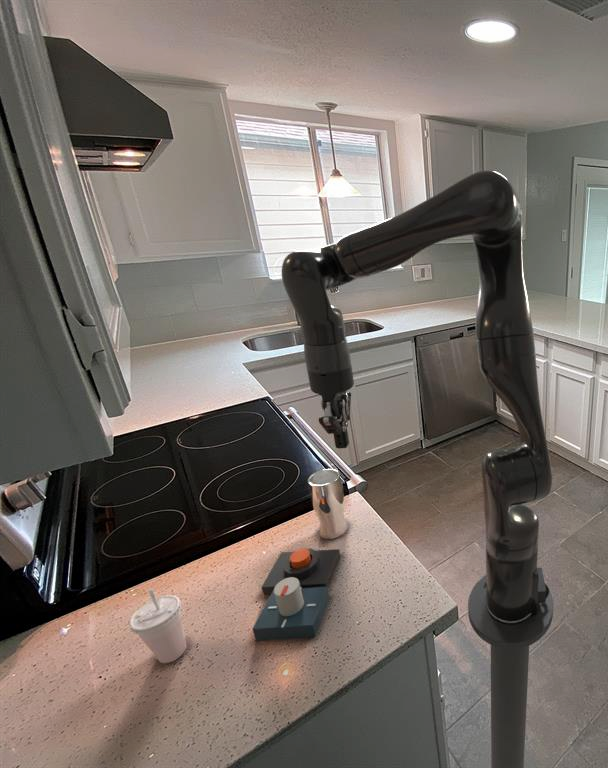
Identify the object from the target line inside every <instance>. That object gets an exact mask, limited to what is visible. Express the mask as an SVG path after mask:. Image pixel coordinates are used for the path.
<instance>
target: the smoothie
mask: <svg viewBox="0 0 608 768" xmlns="http://www.w3.org/2000/svg"><path fill="white" fill-rule="evenodd" d="M147 591H148V593H149V596H150V598H151V600H150V601H148V602H146V603H145V604H143V605H141V606H140V607H139V608H138V609H137V610H136V611H135V612H134V613H133V614H132V615H131V617H130V620H129V623H128V625H129V629H130V631H131V633H133V635H134V634H135V635H137V636H138V637H139V638H140V639H141V640H142V642H143V643H144V644H145V646H146V647H148V649H149V650H150V651H151V653H152V654H153V655H154V656H155V657H156V659H157V660H158V661H159V662H160V663H161V664H168V663H172V662H175V661H176V660H177V659H179V658H180V657H181V656H182V655H184V654H185V652H186V649H187V641H186V636H185V631H184V623H183V620H182V619H183V618H182V613H181V610H182V603H181V601H180V599H179V597H178V596H175V595H171V594H169V595H162V596H159V597H157V594H156V593H155V590H154V588H153V587H151V588H149V589H148V590H147Z"/></svg>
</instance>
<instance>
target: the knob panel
mask: <svg viewBox="0 0 608 768" xmlns="http://www.w3.org/2000/svg"><path fill="white" fill-rule="evenodd" d="M301 591H302V596H303V600H304V605H303V607H302V608H301V610H300V611H299V612H297V613H296V614H294V615H291V616H283V615H281V614H280V612H279V608H278V605H277V601H276V598H275V594H274V590H273V591H272V593H271V595H269V596H268V599H267V601H266V603H265V605H264V607H263V608H262V610H261V612H260V614H259V616H258V618H257V619H256V621H255V623H254V625H253V627H252V632H253V636H254V639H255V641H256V642H262V641H274V640H289V639H303V638H305V639H306V638H315V637H316V636H317V634H318V631H319V628H320V626H321V623H322V620H323V617H324V615H325V612H326V609H327V607H328V604H329V601H330V598H331V597H330V592H329V588H328V587H315V588H302V587H301Z"/></svg>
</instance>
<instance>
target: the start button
mask: <svg viewBox="0 0 608 768" xmlns="http://www.w3.org/2000/svg"><path fill="white" fill-rule="evenodd" d="M307 549H308V548H300V549H297V550H295V551H293V552H294V553H292V555H291V556H290V562H291V566H292V567H293V568H295V569H300V568H302V567H305V566H306V565H308V564H309V563H310V561H311V557H310V552H309V550H307Z"/></svg>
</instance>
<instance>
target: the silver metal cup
mask: <svg viewBox="0 0 608 768" xmlns="http://www.w3.org/2000/svg"><path fill="white" fill-rule="evenodd" d="M307 485H308V493H309V499H310V502H311V505H312V508H313V510H314V512H315V515H316V516H317V519H318V521H319V535H320V537H321V538H322V539H326V540H333V539H338V538H340V537H341V536H343V535H344V534H345V533H346V532H347V531H348V527H349V526H348V523H347V520H346V519H345V515H344V514H345V513H344V510H345V509H344V507H345V491H344V486H343V485H344V484H343V481H342V478H341V473H340V471H338V470H337V469H335V468H325V469H320V470H317V471H315V472H313V473H311V474H310V476H309V477H308V479H307Z"/></svg>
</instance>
